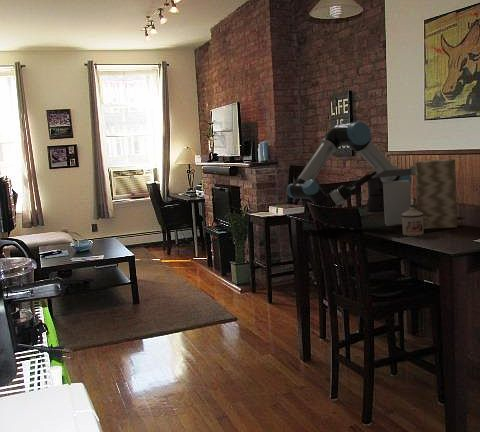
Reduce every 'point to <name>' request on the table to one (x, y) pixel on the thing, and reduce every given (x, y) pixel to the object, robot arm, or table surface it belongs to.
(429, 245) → the table surface
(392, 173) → the brown bar
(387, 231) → the table surface
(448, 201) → the wood grain block
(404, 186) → the block
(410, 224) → the teacup with lid
